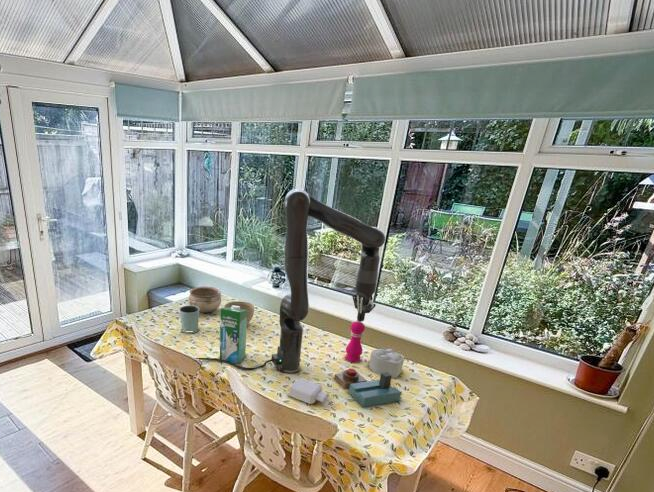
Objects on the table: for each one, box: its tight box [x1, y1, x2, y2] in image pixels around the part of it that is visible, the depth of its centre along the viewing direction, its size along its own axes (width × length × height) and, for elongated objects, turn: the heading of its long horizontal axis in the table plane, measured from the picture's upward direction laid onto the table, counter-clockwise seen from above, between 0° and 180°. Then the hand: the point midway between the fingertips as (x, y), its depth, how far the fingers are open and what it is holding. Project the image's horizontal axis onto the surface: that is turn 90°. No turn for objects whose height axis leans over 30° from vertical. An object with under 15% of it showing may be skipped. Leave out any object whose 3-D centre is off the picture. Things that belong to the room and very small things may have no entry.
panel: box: [334, 369, 368, 389], centre depth 169 cm, size 10×8×4 cm
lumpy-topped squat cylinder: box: [368, 348, 405, 379], centre depth 178 cm, size 10×13×9 cm
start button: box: [347, 368, 357, 376], centre depth 168 cm, size 3×3×2 cm
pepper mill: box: [345, 319, 366, 363], centre depth 184 cm, size 7×7×20 cm
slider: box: [379, 372, 392, 389], centre depth 159 cm, size 3×3×6 cm
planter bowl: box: [223, 300, 256, 327], centre depth 220 cm, size 16×16×11 cm
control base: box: [348, 379, 402, 408], centre depth 159 cm, size 16×10×5 cm, turn 106°
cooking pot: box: [187, 286, 222, 314], centre depth 237 cm, size 25×19×12 cm
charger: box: [288, 377, 333, 405], centre depth 157 cm, size 5×9×15 cm
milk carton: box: [219, 305, 248, 365], centre depth 183 cm, size 9×9×25 cm
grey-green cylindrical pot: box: [178, 305, 200, 334], centre depth 213 cm, size 10×10×12 cm
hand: (360, 320), depth 166 cm, fingers closed
